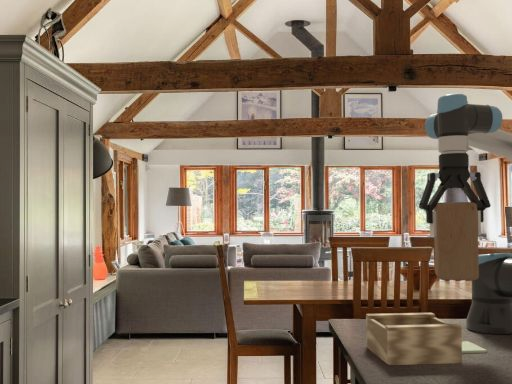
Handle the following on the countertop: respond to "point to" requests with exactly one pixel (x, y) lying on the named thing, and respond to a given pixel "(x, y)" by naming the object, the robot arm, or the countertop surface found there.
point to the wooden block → (456, 241)
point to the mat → (471, 348)
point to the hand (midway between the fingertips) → (455, 235)
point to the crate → (413, 339)
